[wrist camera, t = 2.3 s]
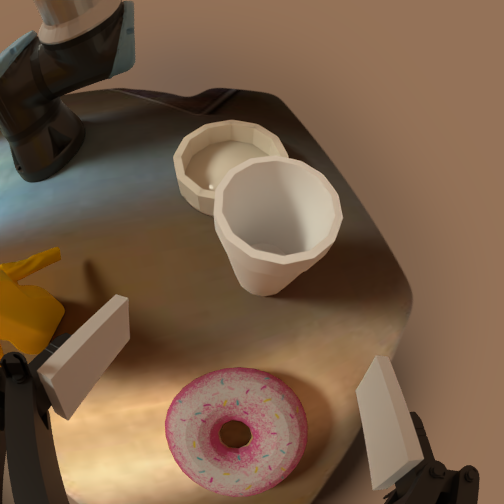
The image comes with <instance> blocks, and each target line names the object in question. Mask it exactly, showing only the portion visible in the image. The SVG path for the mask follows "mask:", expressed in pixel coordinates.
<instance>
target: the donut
mask: <svg viewBox="0 0 504 504" xmlns="http://www.w3.org/2000/svg"><path fill="white" fill-rule="evenodd" d="M231 420H236V421H241V422H243V423H244V424H246V425H247V426H248V427H249V428H250V431H251V435H252V437H251V439H250V441H249V443H248V444H247V445H245V446H243V447H240V448H233V447H228V446H227V445H226V444H224V443H223V442H222V441H221V437H220V433H219V432H220V430H221V428H222V426H223V424H224V423H227V422H229V421H231ZM165 432H166V438H167V442H168V445H169V449H170V451H171V453H172V455H173V457H174V459H175V461H176V463H177V464H178V465H179V467H180V468H181V470H182V471H183V472H184V473H185V474H186V475H187V476H188V477H189V478H190V479H192V480H193V481H194V482H195V483H197V484H199V485H200V486H202V487H204V488H206V489H208V490H210V491H213V492H215V493H218V494H222V495H227V496H233V497H240V496H250V495H255V494H259V493H262V492H264V491H266V490H268V489H270V488H272V487H274V486H276V485H277V484H278V483H280V482H281V481H282V480H284V479H285V478H286V477H287V476H288V475H289V474H290V473H291V472H292V471H293V470H294V468H295V467H296V466H297V464H298V463H299V461H300V459H301V458H302V456H303V454H304V451H305V447H306V444H307V439H308V424H307V419H306V413H305V411H304V409H303V407H302V404H301V402H300V400H299V399H298V397H297V396H296V395H295V393H294V392H293V391H292V389H291V388H289V387H288V386H287V385H286V384H285V383H284V382H283V381H282V380H280V379H278V378H276V377H275V376H273V375H271V374H269V373H267V372H263V371H260V370H257V369H252V368H241V367H238V368H226V369H221V370H217V371H213V372H210V373H207V374H205V375H203V376H201V377H199V378H196V379H195V380H193V381H192V382H191V383H189V384H188V385H186V386H185V387H184V388H183V389H182V390H181V391H180V392H179V393H178V394H177V395H176V397H175V398H174V399H173V401H172V403H171V405H170V407H169V409H168V412H167V416H166V420H165Z"/></svg>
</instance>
